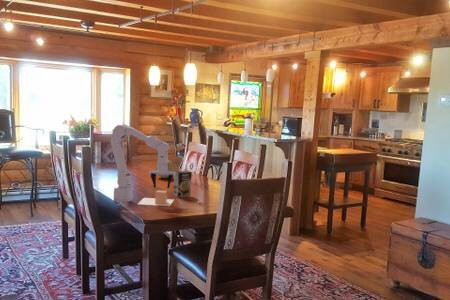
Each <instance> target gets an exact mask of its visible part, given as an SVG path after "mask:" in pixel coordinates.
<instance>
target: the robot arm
mask: <svg viewBox="0 0 450 300" xmlns="http://www.w3.org/2000/svg"><path fill="white" fill-rule="evenodd" d="M127 136H133V137H135V138H137V139H140V140H141V141H143V142H144V143H145V145H146V146H149V147H151V148H152V149H154V150H156V152H157V164H156V165H157V171H156V170H149V171H148V175H150V178H151V180H152V184H153V188H154V189H155V188H156V187H157V182H156V181H157V176H158V175H169V176H168V178H167V189H170V185H171V182H172V179H174V176H175V172H170V171H167V169H168V160H169V152H168V151H169V150H170V145H169V143H167V141H163V140H162V139H161V140H160V139H159V138H157V137H156V135H149V136H148V135H147V134H145V133H143V132H141V131H139V130H137V129H136V128H134V127H132V126H129V125H127V124H117V125H116V126H115V127H114V128H113V129H112V133H111V137H110V145H111V148H112V149H111V150H112V153H113V156H114V161H115V165H116V169H117V175H116V176H117V181H116V183H117V185H118V186H115V187H114V189H113V202H122V203H128V202H131V201H132V183H133V181H134V179H133V176H132V175H131V173H130V171H129V169H128V166H127V162H126V160H125V159H126V158H125V154H124V151H123V147H122V143H121V142H122V141H123V139H124V138H125V137H127Z"/></svg>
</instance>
